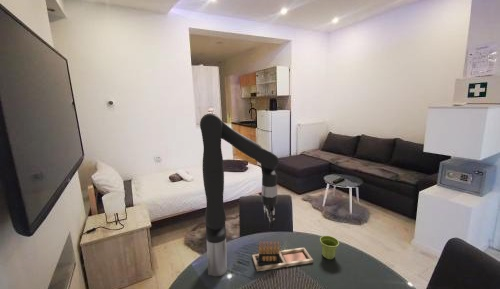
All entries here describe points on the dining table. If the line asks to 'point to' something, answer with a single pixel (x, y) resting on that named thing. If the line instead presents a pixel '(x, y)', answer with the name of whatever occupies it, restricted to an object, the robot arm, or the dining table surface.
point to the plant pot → (329, 246)
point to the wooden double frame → (286, 259)
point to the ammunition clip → (269, 253)
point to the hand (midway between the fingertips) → (269, 224)
